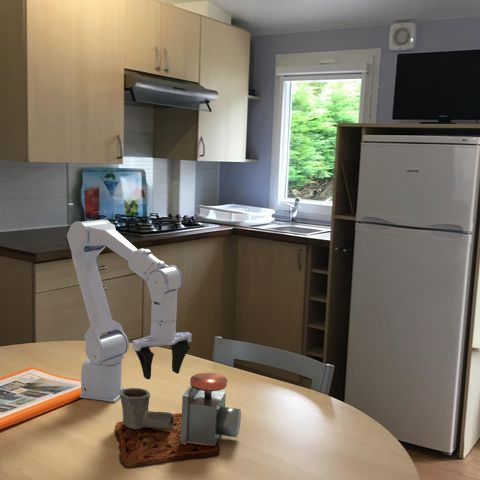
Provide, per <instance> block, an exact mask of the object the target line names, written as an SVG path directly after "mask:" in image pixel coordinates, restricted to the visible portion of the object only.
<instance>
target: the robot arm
mask: <svg viewBox="0 0 480 480" xmlns="http://www.w3.org/2000/svg"><path fill="white" fill-rule="evenodd" d="M66 237H67V241H68V245H69V248H70V252H71V259H72V263H73V266H74V269H75V273H76V278H77V280H78V284H79V288H80V289H79V290H80V292H81V295H82V299H83V303H84V306H85V309H86V314H87V318H88V321H89V324H90V326H89V328H88V330H87V331H86V333H85V334H84V337H83V338H84V340H85V341H84V342H85V349H84V350H85V355H86V357H87V358H86V359H85V360H84V362H83V363H82V367H81V373H80V375H81V376H80V378H81V379H80V381H81V382H80V385H81V386H80V394H79V398H83V399H88V400H89V399H90V400H97V401H103V402H104V401H105V402H111V403H116V402H117V401H118V400H119V399H121V398H120V395H119V391H120V390H122V389H127V388H126V387H122V375H123V374H122V372H123V371H122V370H123V369H122V368H123V360H124V358H125V354H126V353H128V352H129V351H128V350H129V348H130V344H129V343H130V342H129V338H128V337H127V334H126V333H125V332H124V330H123V327H122V324H120V323H118V322H117V321H116V320H113V317H112V313H111V311H110V310H111V309H110V307H109V303H108V300H107V296H106V292H105V289H104V285H103V281H102V278H101V273H100V270H99V268H98V263H97V258H98V257H99V254H101V252H102V251H104V249H105V248H106V247H107V248H108V249H110V250H111V251H112V252H114V253H116V254H118V255H119V256H120V257H122V258H124V259H125V260H126V261H128V263H127V264H128V268H129V270H131V271H132V272H134V273H135V274H136V275H137V276H139V277H140V278H142V279H143V280H144V281H145V282H146V285H147V288H148V290H149V293H150V295H149V297H150V300H151V313H150V314H151V315H150V335H147V336H145V337H142V338H138V339H134V340H132V349H133V350H134V352H135V353H136V356H137V357H138V360H139V363H140V366H141V369H142V375H143V378H144V379H145V380H151V376H152V364H153V359H154V355H155V353H154V352H152V348H157V347H161V346H162V347H163V346H170V347H171V371H172V372H173V373H175V374H179V373H180V372H181V367H182V365H183V361H184V359H185V357H186V355H187V354H188V352H189V351H190V349H191V344H190V343H192V335H193V334H192V333H190V332H189V331H183V332H182V331H181V332H176V329H177V327H176V326H177V311H178V310H177V307H178V305H177V303H178V290H179V289H180V288H181V287H182V286H183V282H184V277H183V273H182V271H181V270H180V268H178V266H176V265H173V264H171V265H168V264H166V263H165V262H164V261H163V260H160V259H159V258H157V256H155V255H154V254H153V253H152V251H151V250H150V249H148V248H146V249H145V248H139V249H137V247H135V246H134V245H133V244H132V242H131V241H130V242H129V240H127V239H126V238H125V237H124V236H123V235H122V234H121V233H120V232H119V231H118V230H116V225H115V224H114V223H112V222H110V221H109V220H108V219H106V218H100V219H95V220H87V221H74V222H73V223H72V224H70V226H69V229H68V232H67V234H66ZM102 334H104V335H102ZM150 348H151V349H150ZM86 388H87V390H86Z"/></svg>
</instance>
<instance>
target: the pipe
mask: <svg viewBox="0 0 480 480" xmlns="http://www.w3.org/2000/svg"><path fill="white" fill-rule="evenodd" d="M119 395H120V398H119V399H120V402H121V408H122V409H121V410H122V423H123V426H124V427H125V428H127V427H128V429H130V428H131V429H130V430H139V429H143V427H144V428H145V429H152V430H171V429H173V426H174V423H175V422H174V420H175V419H174V415H173V413H172V412H167V411H166V412H165V411H153V410H149V404H150V398H151V393H150V391H148V390H147V389H146V388H145V389H144V388H139V387H129V388H126V389H122V390H120V391H119Z"/></svg>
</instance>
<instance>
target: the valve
mask: <svg viewBox="0 0 480 480" xmlns="http://www.w3.org/2000/svg"><path fill="white" fill-rule="evenodd" d="M227 386H228V378H226V376H224V375H222V374H219V373H214V372H201V373H200V372H199V373H196V374H193V375H192V376H190V379H189V386H188V388H187V389H186V390H185V392H184V393H183V395H182V398H181V399H182V401H181V423H180V424H181V425H180V430H181V431H180V443H181V442H183V443H186V442H187V441H190V442H197V443H205V444H211V445H215V443H216V442H217V443H218V441H219V439H220V437H221V436H223V437H224V436H225V437H231V438H238V436H239V433H240V427H241V419H242V410H241V408H237V407H230V406H228V407H227V406H226V395H227V394H226V393H227V392H226V390H224V389H225V388H226V387H227Z"/></svg>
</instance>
